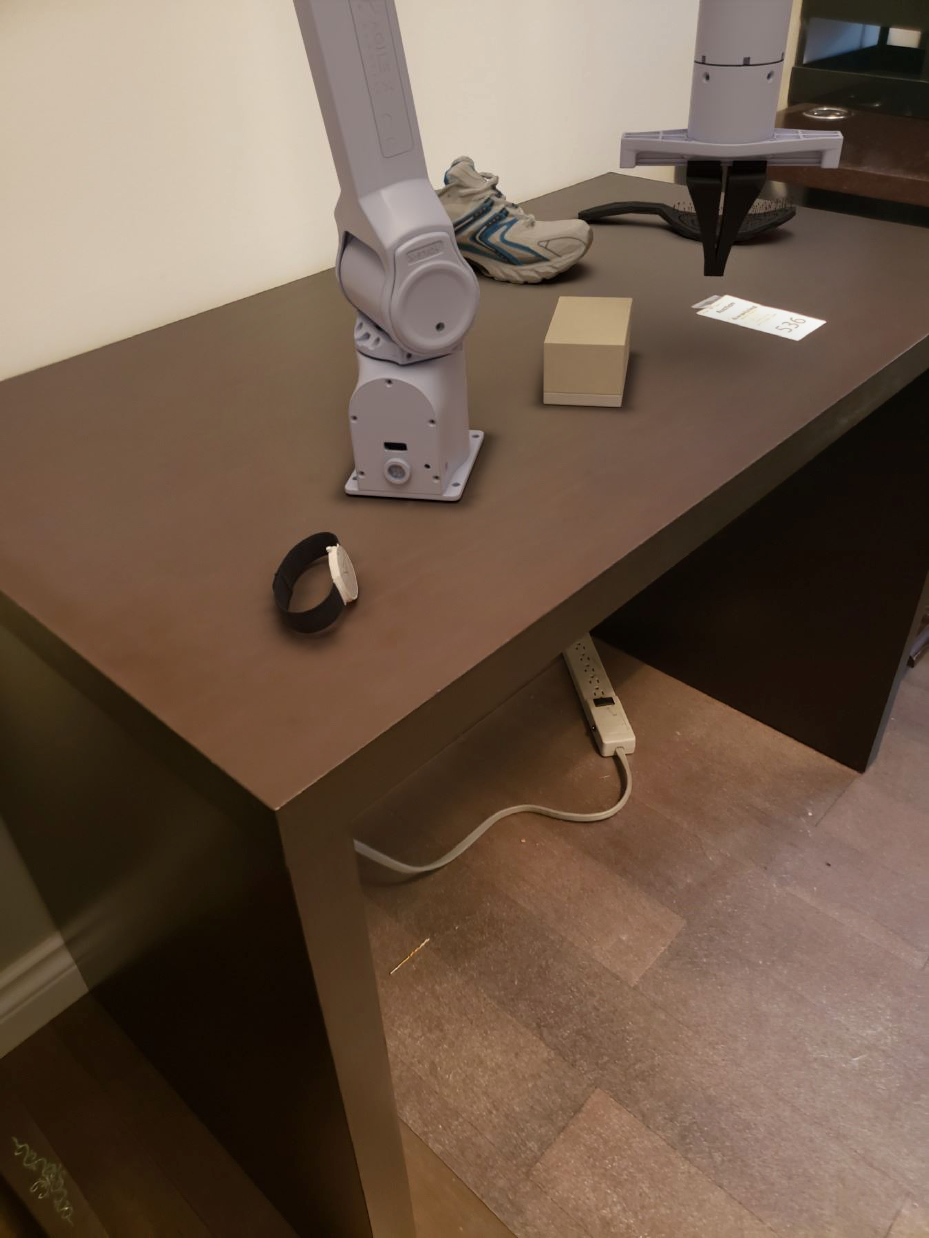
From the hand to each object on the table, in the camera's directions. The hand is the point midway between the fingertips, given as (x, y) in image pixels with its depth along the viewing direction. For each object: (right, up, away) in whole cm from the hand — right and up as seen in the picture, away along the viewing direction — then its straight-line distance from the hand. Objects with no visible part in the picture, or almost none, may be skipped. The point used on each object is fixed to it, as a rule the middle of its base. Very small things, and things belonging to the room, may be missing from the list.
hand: (713, 272), depth 69 cm
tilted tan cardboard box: (-5, -4, +5) cm, 9 cm away
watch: (-27, -25, -15) cm, 39 cm away
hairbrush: (+6, +19, +38) cm, 43 cm away
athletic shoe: (-16, +12, +31) cm, 36 cm away
